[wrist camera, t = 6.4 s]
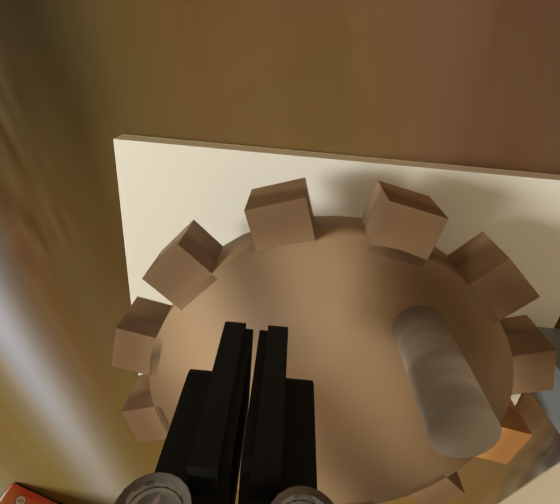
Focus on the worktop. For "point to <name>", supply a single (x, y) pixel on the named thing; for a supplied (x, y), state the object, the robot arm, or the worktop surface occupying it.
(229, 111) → the worktop surface
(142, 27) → the worktop surface
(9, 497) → the cracker box
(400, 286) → the sprocket
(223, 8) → the worktop surface
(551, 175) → the stand
